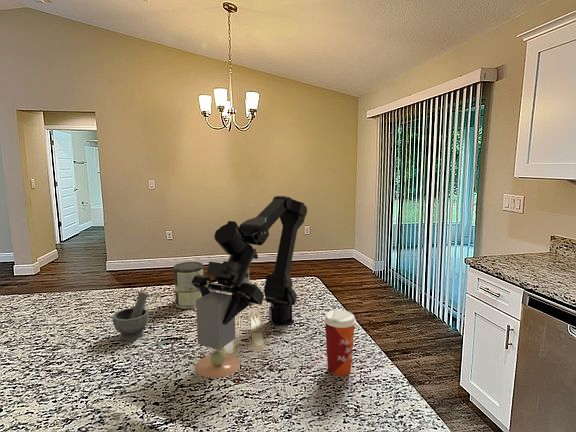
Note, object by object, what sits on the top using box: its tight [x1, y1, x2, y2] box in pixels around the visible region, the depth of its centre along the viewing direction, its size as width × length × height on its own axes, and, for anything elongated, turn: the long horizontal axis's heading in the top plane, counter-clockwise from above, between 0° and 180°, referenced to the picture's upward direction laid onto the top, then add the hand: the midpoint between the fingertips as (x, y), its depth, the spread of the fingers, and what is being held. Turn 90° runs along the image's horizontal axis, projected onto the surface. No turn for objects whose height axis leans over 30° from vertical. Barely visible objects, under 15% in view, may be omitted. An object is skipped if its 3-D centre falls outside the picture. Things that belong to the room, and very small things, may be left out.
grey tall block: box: [195, 291, 237, 351], centre depth 91 cm, size 6×6×11 cm
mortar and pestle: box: [112, 291, 150, 342], centre depth 111 cm, size 11×9×12 cm
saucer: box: [194, 349, 241, 379], centre depth 92 cm, size 11×11×5 cm
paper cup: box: [323, 309, 357, 377], centre depth 92 cm, size 8×8×14 cm
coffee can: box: [172, 261, 204, 309], centre depth 136 cm, size 10×10×14 cm
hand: (212, 321), depth 89 cm, fingers closed on grey tall block, 6 cm apart
